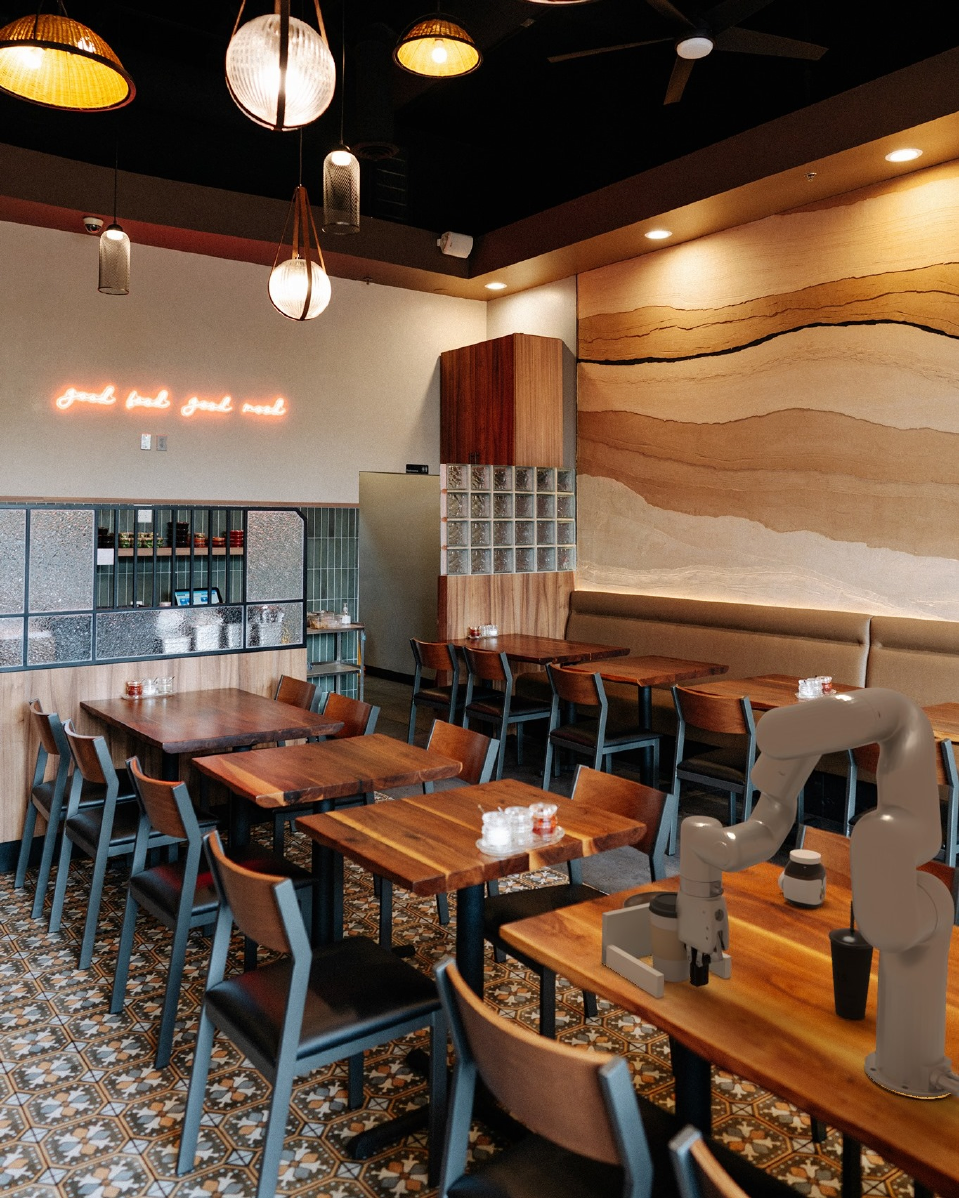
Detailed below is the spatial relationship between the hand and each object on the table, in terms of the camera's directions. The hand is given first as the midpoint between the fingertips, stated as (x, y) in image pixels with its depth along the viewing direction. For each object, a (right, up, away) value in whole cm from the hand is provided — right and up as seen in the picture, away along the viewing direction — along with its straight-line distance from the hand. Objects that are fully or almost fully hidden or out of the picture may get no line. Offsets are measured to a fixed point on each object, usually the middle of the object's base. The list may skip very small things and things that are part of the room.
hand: (699, 983), depth 171 cm
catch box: (-4, -1, +7) cm, 9 cm away
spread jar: (+34, 0, +47) cm, 58 cm away
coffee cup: (-4, -1, +7) cm, 8 cm away
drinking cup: (+24, -2, -8) cm, 26 cm away
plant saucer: (+2, 0, +34) cm, 34 cm away
